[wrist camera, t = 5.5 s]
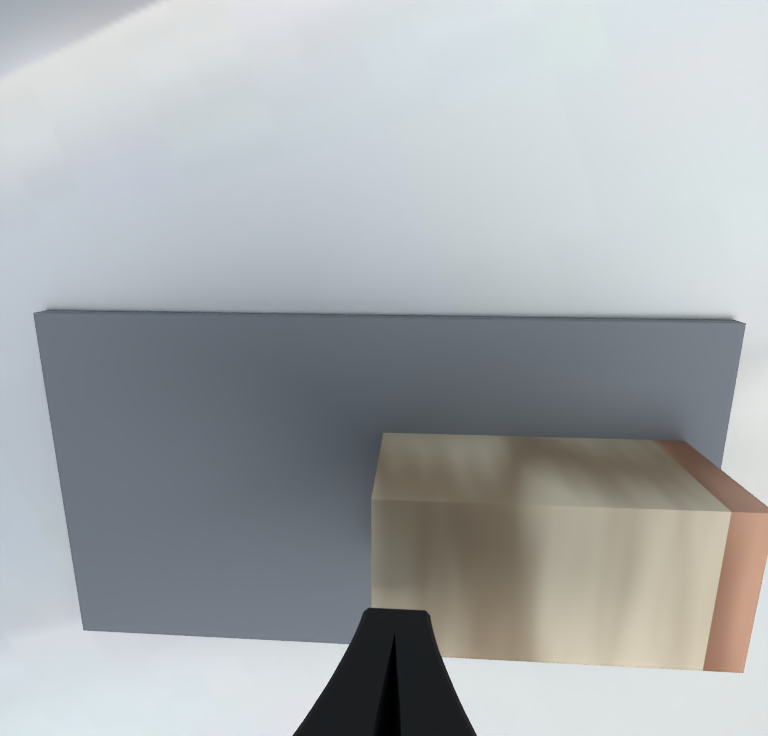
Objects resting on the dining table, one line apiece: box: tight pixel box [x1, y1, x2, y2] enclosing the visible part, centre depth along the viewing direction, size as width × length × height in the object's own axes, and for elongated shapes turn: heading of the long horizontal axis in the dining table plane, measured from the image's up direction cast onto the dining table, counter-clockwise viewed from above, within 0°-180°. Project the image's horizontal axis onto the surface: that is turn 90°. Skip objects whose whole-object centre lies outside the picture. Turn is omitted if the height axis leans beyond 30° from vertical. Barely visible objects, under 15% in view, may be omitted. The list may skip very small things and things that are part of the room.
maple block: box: [371, 433, 768, 673], centre depth 16 cm, size 4×4×10 cm
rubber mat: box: [33, 310, 746, 644], centre depth 18 cm, size 22×12×1 cm, turn 90°
